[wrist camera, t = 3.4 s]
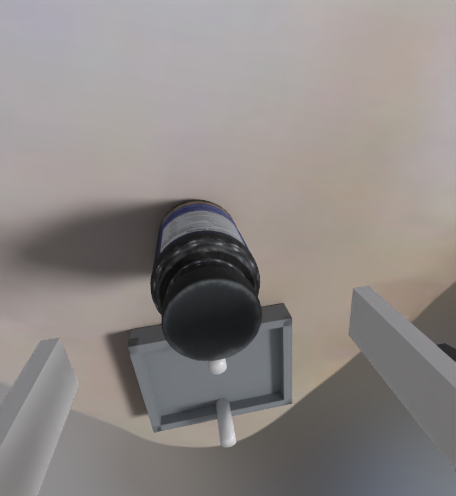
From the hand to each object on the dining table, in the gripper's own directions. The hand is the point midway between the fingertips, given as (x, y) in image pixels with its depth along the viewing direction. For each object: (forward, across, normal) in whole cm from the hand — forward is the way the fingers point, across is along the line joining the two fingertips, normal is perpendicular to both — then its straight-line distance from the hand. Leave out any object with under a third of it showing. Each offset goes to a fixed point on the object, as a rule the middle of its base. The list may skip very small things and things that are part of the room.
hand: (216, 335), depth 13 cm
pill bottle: (+12, 0, +1) cm, 12 cm away
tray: (+12, 0, -13) cm, 17 cm away
